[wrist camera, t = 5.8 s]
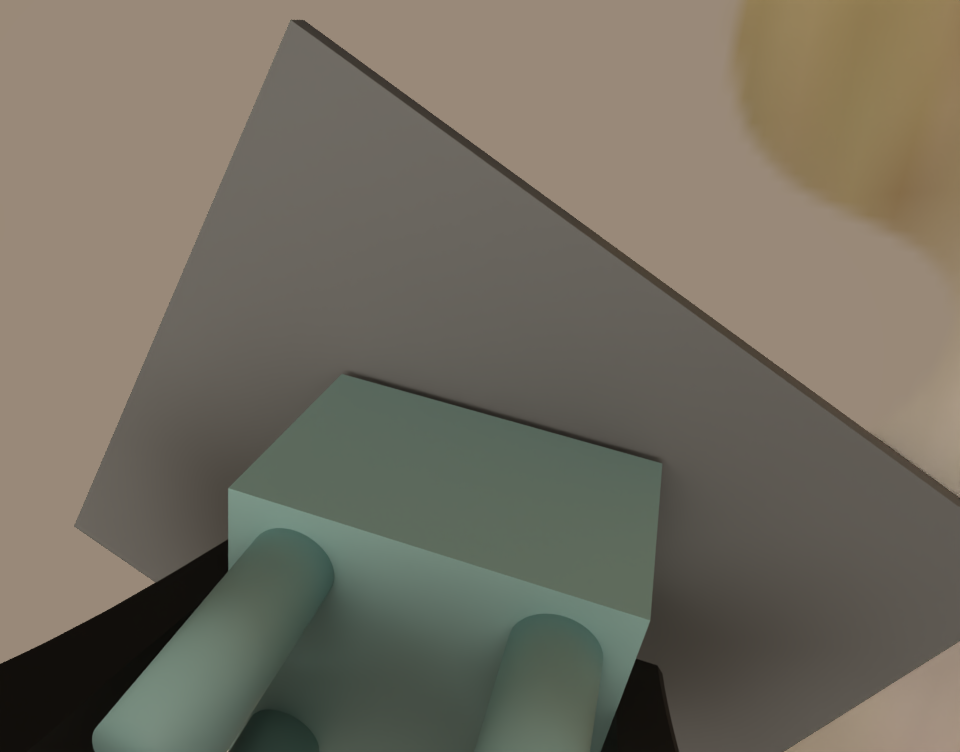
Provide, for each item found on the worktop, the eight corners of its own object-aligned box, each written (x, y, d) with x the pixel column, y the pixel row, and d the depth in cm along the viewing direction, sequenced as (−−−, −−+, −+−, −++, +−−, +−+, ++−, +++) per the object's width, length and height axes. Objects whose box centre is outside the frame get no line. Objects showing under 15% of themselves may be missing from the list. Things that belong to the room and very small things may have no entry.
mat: (1047, 562, 11) (1058, 579, 11) (587, 859, 17) (584, 876, 17) (303, 20, 11) (290, 19, 11) (87, 515, 17) (73, 526, 16)
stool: (662, 463, 12) (631, 880, 6) (584, 694, 14) (509, 1137, 9) (341, 374, 13) (51, 665, 7) (322, 607, 15) (99, 958, 9)
